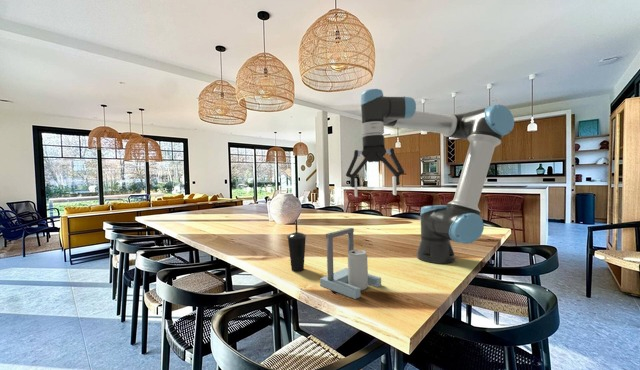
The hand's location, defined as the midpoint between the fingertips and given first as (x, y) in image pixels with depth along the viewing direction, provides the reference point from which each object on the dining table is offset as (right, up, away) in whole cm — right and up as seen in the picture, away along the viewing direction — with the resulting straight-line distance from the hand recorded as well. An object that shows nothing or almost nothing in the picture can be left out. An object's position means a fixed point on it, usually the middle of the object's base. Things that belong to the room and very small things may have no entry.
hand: (375, 195), depth 97 cm
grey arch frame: (-9, -30, -5) cm, 32 cm away
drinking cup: (-29, -30, +12) cm, 43 cm away
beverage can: (-7, -30, -7) cm, 32 cm away
